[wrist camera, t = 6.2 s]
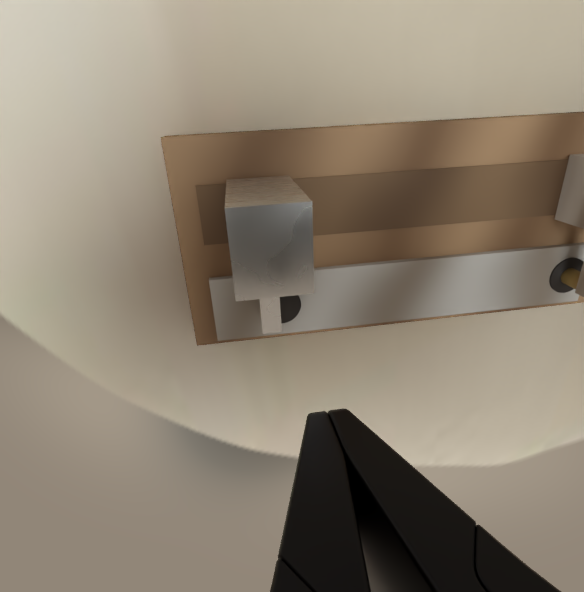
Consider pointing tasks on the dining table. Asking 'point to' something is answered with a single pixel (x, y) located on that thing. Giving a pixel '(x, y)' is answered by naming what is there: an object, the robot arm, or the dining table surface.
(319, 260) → the board
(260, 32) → the dining table surface
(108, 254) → the dining table surface
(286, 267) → the block
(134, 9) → the dining table surface
